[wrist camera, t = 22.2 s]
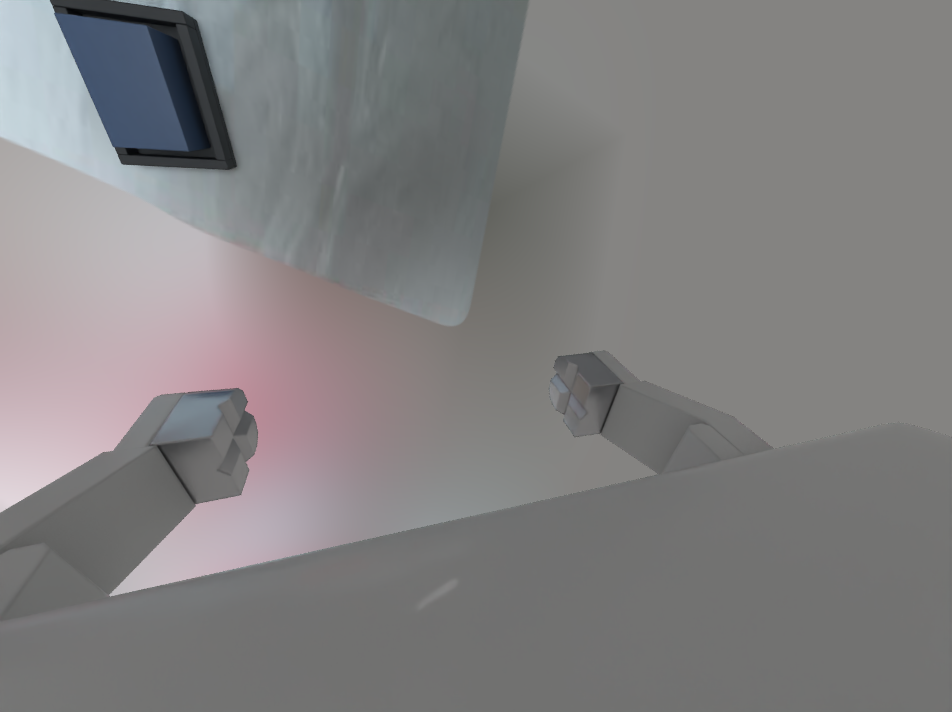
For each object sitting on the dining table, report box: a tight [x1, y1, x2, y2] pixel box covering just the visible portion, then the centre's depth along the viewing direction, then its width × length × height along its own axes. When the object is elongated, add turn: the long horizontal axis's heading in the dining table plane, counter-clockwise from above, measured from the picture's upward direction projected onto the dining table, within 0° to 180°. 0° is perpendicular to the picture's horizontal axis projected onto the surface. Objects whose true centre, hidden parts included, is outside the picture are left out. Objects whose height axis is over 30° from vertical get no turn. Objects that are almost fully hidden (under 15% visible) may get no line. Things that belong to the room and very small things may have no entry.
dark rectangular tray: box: [50, 0, 236, 170], centre depth 23 cm, size 8×6×2 cm
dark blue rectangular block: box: [54, 13, 211, 152], centre depth 21 cm, size 6×4×4 cm, turn 176°
